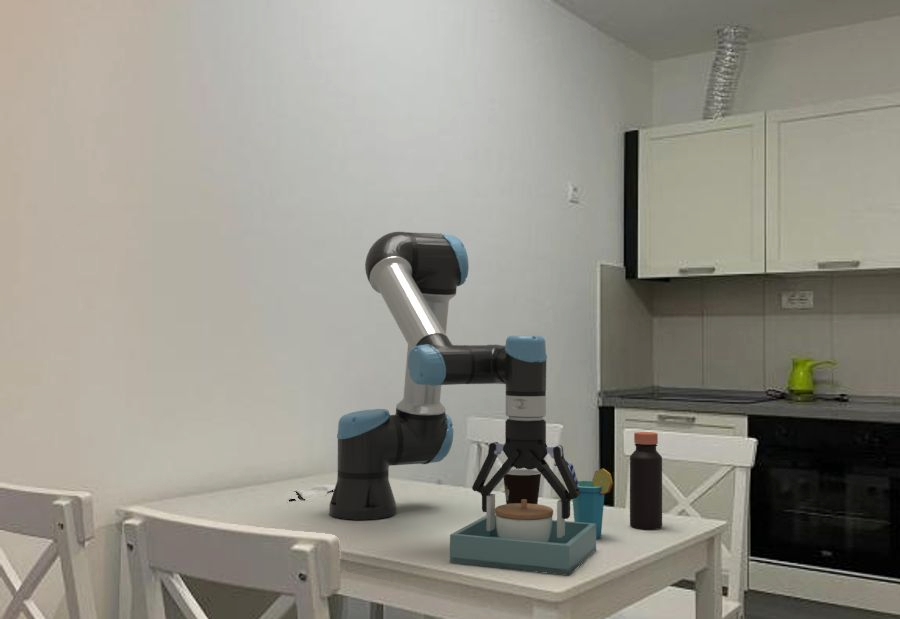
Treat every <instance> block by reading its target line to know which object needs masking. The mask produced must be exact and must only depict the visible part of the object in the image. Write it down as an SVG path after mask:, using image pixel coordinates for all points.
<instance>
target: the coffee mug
mask: <svg viewBox="0 0 900 619" xmlns="http://www.w3.org/2000/svg"><path fill="white" fill-rule="evenodd" d="M541 475H542V474H541V473H540V472H539V471H538V470H537V469H536V470H535V469H532V470H531V469H526V468H521V469H516V468H515V469H510V470H509V471H508V473H507V474H506V475H505V476H504V477H503V484H504V485H503V486H504V493H505V494H504V496H505V504H514V503H521V500H522V499H526V500H527V503H529V504H539V503H538V502H539V493H540V485H541V479H542V478H541Z"/></svg>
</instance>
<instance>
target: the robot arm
mask: <svg viewBox="0 0 900 619" xmlns="http://www.w3.org/2000/svg"><path fill="white" fill-rule="evenodd" d="M364 265H365V266H364V267H365V268H364V270H365V274H366V279H367V280H368V282H369V284H370V286H371V288H372V289H373V291H375V292H376V293H378V294H380V295H381V296H382V299H383V300H384V303H385V304H386V306H387V308H388V309H389V312H390V314H391V316H392V317H393V319H394V321H395V323H396V324H397V327H398V329H399V330H400V332H401V334H402V336H403V337H404V340H405V341H406V343H407V352H406V363H405V364H406V365H405V377H404V387H403V388H404V389H403V398H402V399H401V400H400V401H399V402H398V403H397V404H396V406H395V414H390V412H389V410H388V409H384V408H375V409H363V410H358V411H357V410H356V411H354V412H349V413H346V414H344V415H342V416H341V417H340V418H339V420H338V425H337V428H338V429H337V435H336V438H337V480H336V483H335V485H336V486H335V489H334V491H332V496H331V499H330V503H329V508H328V509H329V511H328V512H329V516H331V517H334V518H337V519H341V520H343V519H344V520H355V521H356V520H357V521H360V520H361V521H363V520H364V521H365V520H368V521H369V520H379V519H384V518H385V519H386V518H389V517H392V516H394V515H396V514H397V503H396V500H395V497H394V496H395V495H394V493H393V490H392V486H391V484H390V483H391V482H390V480H389V478H390V477H389V470H390V466H405V465H407V466H408V465H429V464H432V463H438V462H441V461H443V460H444V459H445V458H446V457H447V456H448V455H449V452H450V451H451V448H452V445H453V441H454V428H453V425H454V424H453V421H452V418H451V417H450V415H449V414H447V413H446V410H447V409H446V407H445V406H444V405H443V404H442V402H441V394H442V393H441V392H442V386H450V385H454V386H455V385H486V384H487V385H494V384H496V385H498V384H499V385H505V416H506V417H508V418H507V419H506V420H505V435H504V436H505V442H504V444H503V443H499V442H498V441H494V442H491V443H489V445H488V451H487V456H486V457H485V460H484V462H483V464H482V466H481V468H480V471H479V472H478V475H477V477H476V479H475V480H474V483H472V484H473V485H472V491H474V492H477V493H479V494H480V495H481V511H482V513H486V515H487V524H486V531H492V530H494V529H495V515H496V514H495V508H496V494H495V493H492V492H493V491H494V489H496V487H497V486H498V484H499V483H500V482H501V481H502V480H504V478H503V477H504V476H505V475H506V474H507V473H508V471H509V470H512V468H515V469H525V470H535V469H536V471H539V472H540V473H541V475H542V476H543V478H544V479H545V480H546V482H547V483H548V484H549V486H550V487H551V489H553V490H554V493H556V494H557V496H558V497H559V500H557V501H556V520H557V538H562V537H563V536H564V535H565V521H566V520H568V519H569V518H570V517H571V501H572V500H573V499H575V498H577V497H578V496H580V490H579V488H578V486H577V484H576V482H575V480H574V478H573V476H572V473H571V470H570V467H569V466H568V465H567V463H566V461H567V460H566V459H565V455H564V447H563V445H560V444H559V445H556V446H548V445H547V440H546V439H547V421H546V420H545V419H543V418H545V417H546V416H547V396H546V393H547V392H546V391H547V360H548V357H547V356H548V354H547V349H546V348H547V346H546V340H545V338H544V337H543V336H542V335H508V336H507V338H506V339H505V345H501V344H486V345H485V344H484V345H483V344H480V345H478V344H477V345H476V344H475V345H474V344H473V345H470V344H469V345H468V344H467V345H466V344H464V345H463V344H462V345H460V344H459V345H458V344H456V345H454V344H453V343H452V341H451V340H450V339H449V337H448V335H447V324H448V315H449V314H448V313H449V303H450V301H451V299H453V298H454V297H455V296H456V295H457V288H458V287H460V286H462V285H464V284H465V282H466V281H467V280H466V279H467V278H468V274H469V257H468V252H467V249H466V248H465V245H464V243H463V241H462V240H461V239H460V238H459V237H457V236H455V235H453V234H450V235H449V234H445V233H444V234H443V233H433V232H432V233H431V232H429V233H428V232H406V231H392V232H389V233H387V234H384V235H383V236H381V237H380V238H378V239H376V241H375V242H373V243H372V245H371V247H370V248H369V250H368V252H367V254H366V259H365V264H364ZM502 452H503V453H504V455H505V456H506V457H507V459H506V460H505V461H504V462H503V464H502V465H501V466H500V468H499V469H498V470H497V471H496V473H495V474H494V475H493V476H492V477H491V479H490V480H489V481H488V482H487V483H486V481H487V479H488V476H489V474H490V473H491V471H492V469H493V467H494V465H495V462H496V460H497V458H498V456H499V455H501V453H502ZM548 454H549V455H550V457H551V458H552V459H554V463H556V465H557V466H556V467H557V470H558V472H559V474H560V475H561V478H562V481H563V482H564V484H563V483H562V482H561V480H560V479H559V478H558V476H557V475H556V474H555V472H554V471H553V470H552V469H551V467H550V465H549V463H548V462H547V461H546V459H545V458H546V457H547V455H548ZM484 484H486V485H484Z"/></svg>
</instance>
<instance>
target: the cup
mask: <svg viewBox="0 0 900 619" xmlns="http://www.w3.org/2000/svg"><path fill="white" fill-rule="evenodd" d="M565 461H566V463H567V465H568V467H569V469H570V471H571V473H572V476H573V478H574V480H575V482H576V484H577V486H578V488H579V490H580V496H578V497H577V498H575V499H572V506H573V508H572V509H573V510H572V511H573V520H574V521H573V522H583V523H595V524H596V540H599V539H601V538H602V529H603V528H602V527H603V519H604V518H603V516H604V515H603V514H604V506H605V505H604V504H605V495H606V494H609V493H610V492H611V489H612V487H613V484H614V482H613V478H612V474H611V473H610V472H609V471H608V470H606V469H605V468H600V469H598V470H596V471H594V474H593V477H592V479H591V481H590V480H589V481H588V480H578V477H577V474H576V471H575V469H574V465H573V463H572V462H570V461H569V460H565ZM553 464H554V467H557V465H556V463H555V462H554V463H553Z"/></svg>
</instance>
